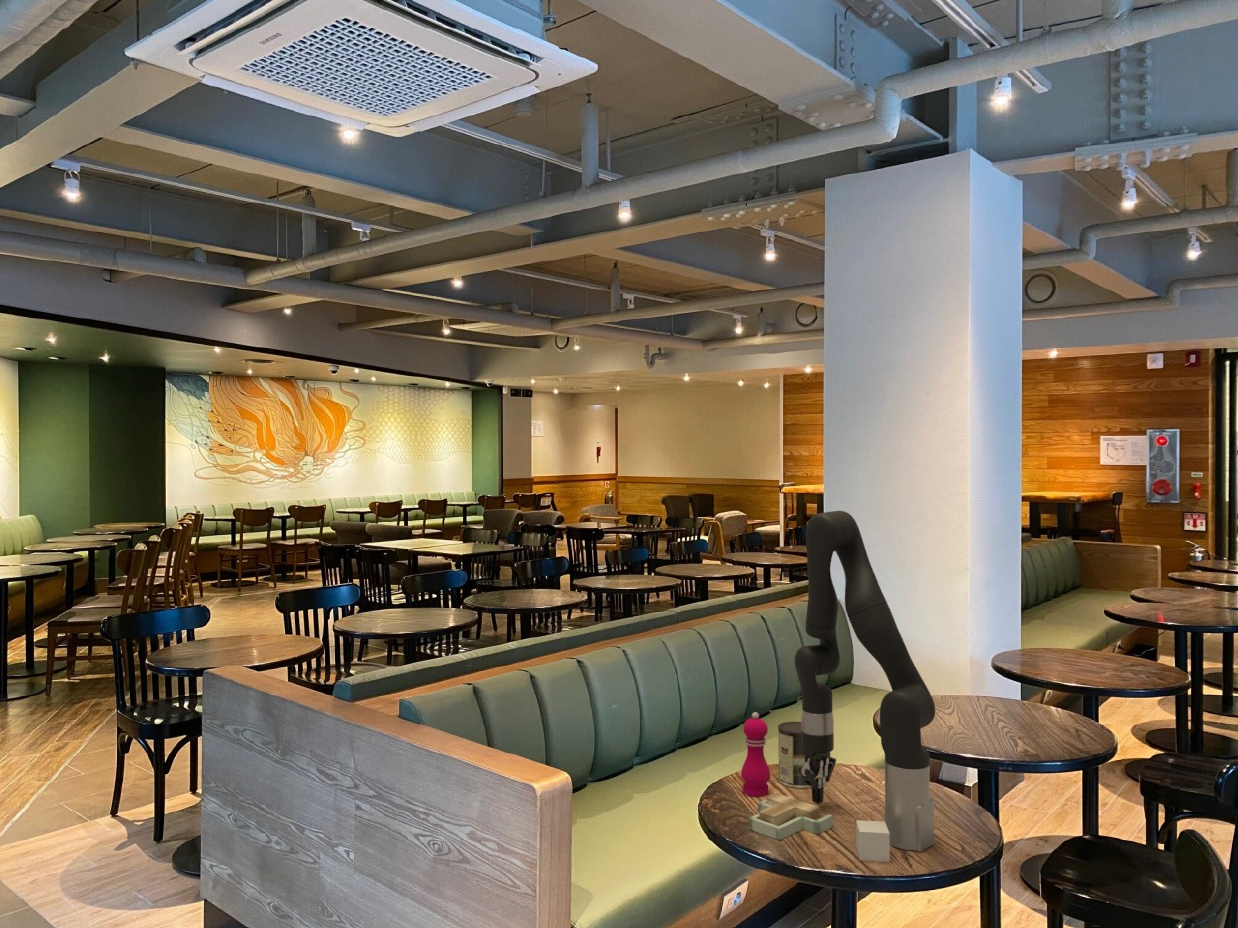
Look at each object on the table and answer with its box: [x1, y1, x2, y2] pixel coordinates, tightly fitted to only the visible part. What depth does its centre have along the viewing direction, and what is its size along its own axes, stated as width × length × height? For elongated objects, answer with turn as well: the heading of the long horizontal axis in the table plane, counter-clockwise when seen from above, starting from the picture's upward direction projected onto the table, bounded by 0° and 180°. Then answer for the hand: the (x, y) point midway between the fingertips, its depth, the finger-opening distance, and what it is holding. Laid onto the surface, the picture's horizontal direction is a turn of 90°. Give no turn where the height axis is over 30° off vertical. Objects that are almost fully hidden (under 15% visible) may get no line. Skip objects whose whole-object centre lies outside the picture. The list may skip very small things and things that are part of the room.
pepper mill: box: [740, 711, 771, 797], centre depth 222 cm, size 7×7×20 cm
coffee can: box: [777, 721, 812, 789], centre depth 229 cm, size 10×10×14 cm
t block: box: [759, 792, 821, 826], centre depth 202 cm, size 12×12×4 cm
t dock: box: [748, 798, 834, 841], centre depth 201 cm, size 16×15×2 cm
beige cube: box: [855, 819, 891, 863], centre depth 186 cm, size 6×6×6 cm
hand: (817, 801), depth 211 cm, fingers closed
